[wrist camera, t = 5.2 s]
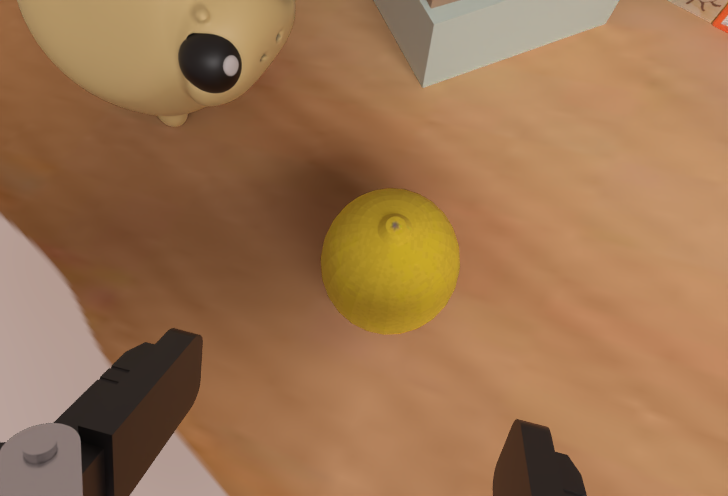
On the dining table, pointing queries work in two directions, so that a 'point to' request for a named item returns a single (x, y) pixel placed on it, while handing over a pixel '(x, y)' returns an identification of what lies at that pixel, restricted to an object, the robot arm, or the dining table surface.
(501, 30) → the tower base
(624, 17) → the dining table surface
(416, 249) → the lemon
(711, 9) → the stack of blocks
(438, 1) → the wooden box
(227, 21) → the cream pug plush toy
